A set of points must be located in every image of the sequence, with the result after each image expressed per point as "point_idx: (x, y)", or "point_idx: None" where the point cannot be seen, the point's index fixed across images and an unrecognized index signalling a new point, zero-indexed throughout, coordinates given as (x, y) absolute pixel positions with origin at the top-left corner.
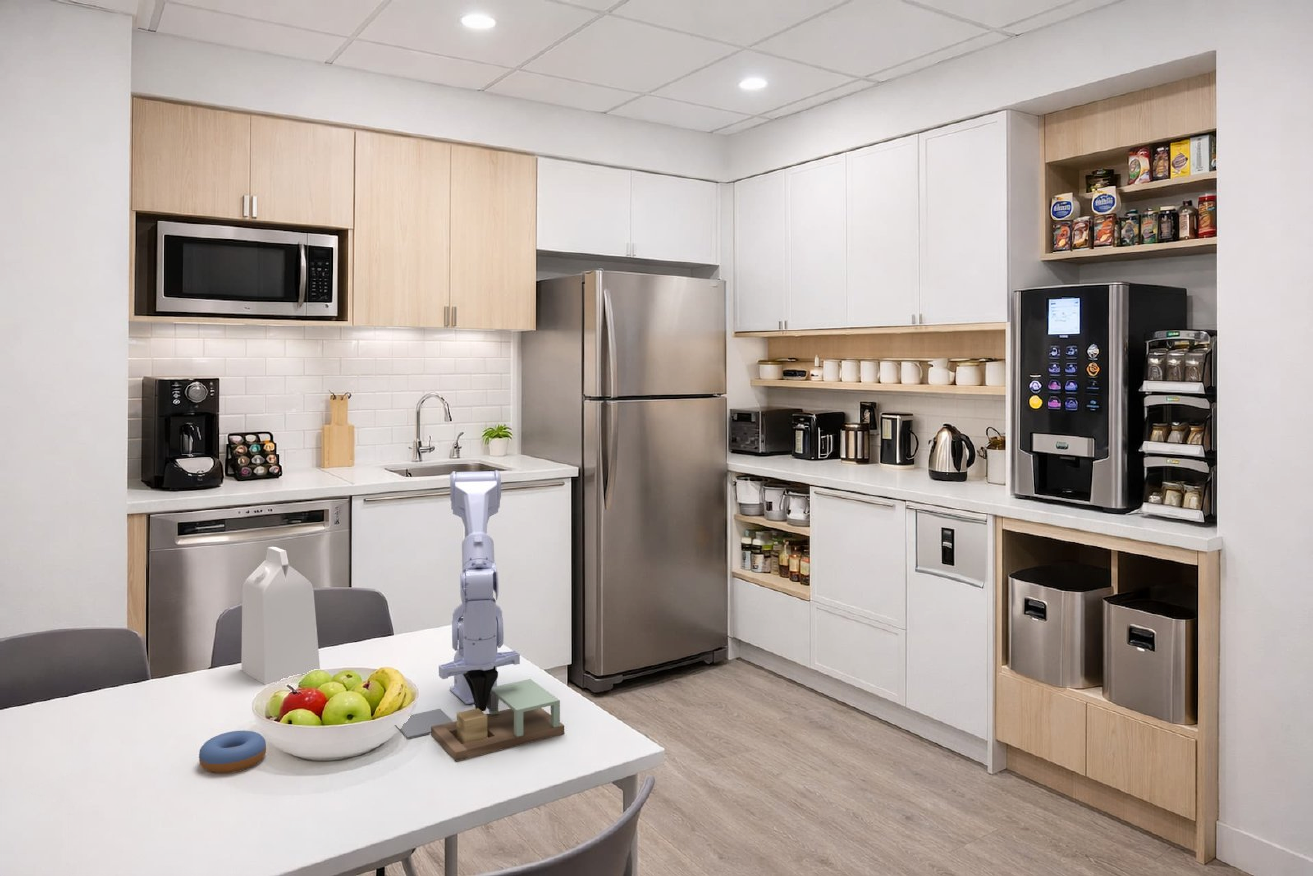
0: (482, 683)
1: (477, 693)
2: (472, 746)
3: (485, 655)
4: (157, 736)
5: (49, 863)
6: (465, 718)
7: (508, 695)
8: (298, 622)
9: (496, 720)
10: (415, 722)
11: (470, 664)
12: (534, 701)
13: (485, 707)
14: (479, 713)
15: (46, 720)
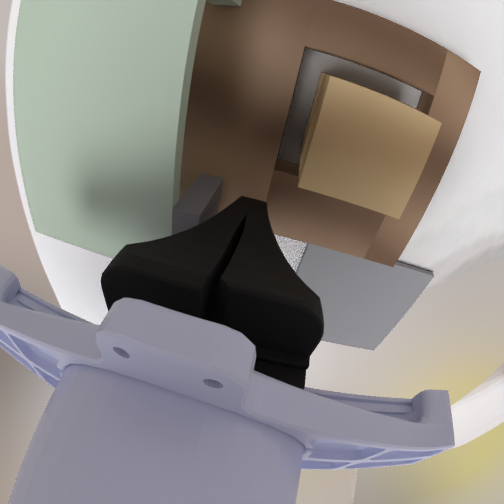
0: (243, 268)
1: (276, 246)
2: (422, 50)
3: (143, 492)
4: (485, 411)
5: None
6: (421, 142)
7: (134, 149)
8: (315, 495)
9: (217, 153)
10: (363, 317)
11: (299, 444)
12: (81, 9)
13: (240, 198)
14: (338, 131)
15: (469, 437)
